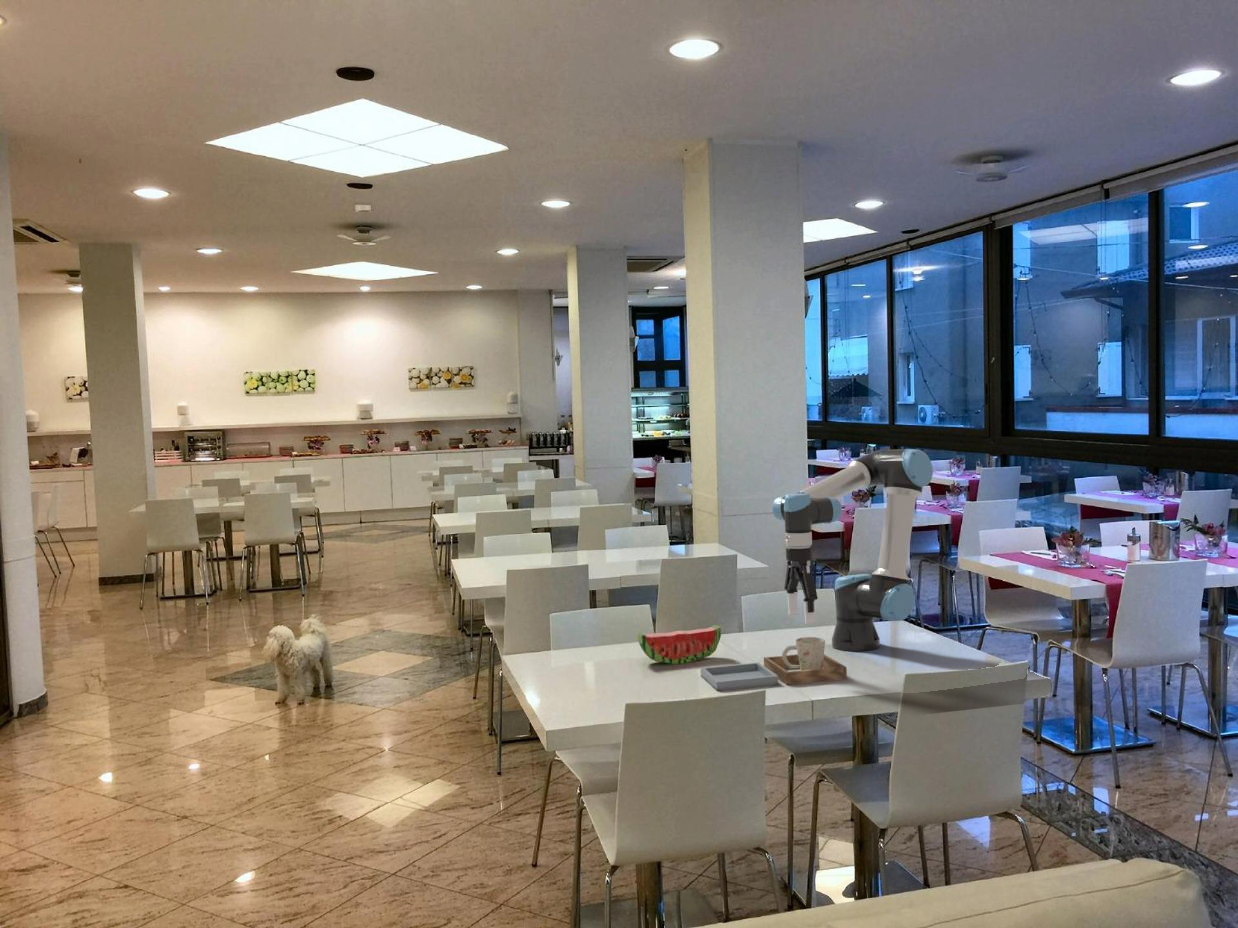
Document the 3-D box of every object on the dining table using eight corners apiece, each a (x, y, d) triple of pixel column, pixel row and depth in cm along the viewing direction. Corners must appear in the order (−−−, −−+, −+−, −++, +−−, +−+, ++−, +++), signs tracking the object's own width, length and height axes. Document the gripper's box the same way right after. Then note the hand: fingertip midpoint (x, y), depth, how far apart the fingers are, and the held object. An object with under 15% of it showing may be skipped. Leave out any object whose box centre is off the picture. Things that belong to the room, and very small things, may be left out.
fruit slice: (643, 667, 307) (641, 635, 306) (638, 663, 313) (636, 631, 312) (723, 659, 313) (721, 627, 312) (716, 654, 319) (715, 624, 318)
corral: (820, 663, 301) (820, 651, 301) (846, 678, 282) (846, 666, 282) (764, 668, 298) (763, 657, 298) (786, 685, 279) (786, 672, 278)
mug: (826, 677, 284) (824, 643, 284) (782, 677, 287) (780, 643, 287) (826, 670, 293) (824, 636, 292) (783, 670, 295) (781, 637, 295)
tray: (759, 670, 296) (758, 662, 296) (778, 684, 279) (778, 675, 279) (700, 676, 293) (700, 667, 293) (716, 690, 276) (716, 681, 276)
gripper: (772, 543, 300) (774, 612, 301) (802, 552, 275) (804, 628, 276) (795, 541, 301) (798, 610, 302) (827, 550, 277) (830, 626, 277)
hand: (801, 619), depth 289 cm, fingers open, 13 cm apart
